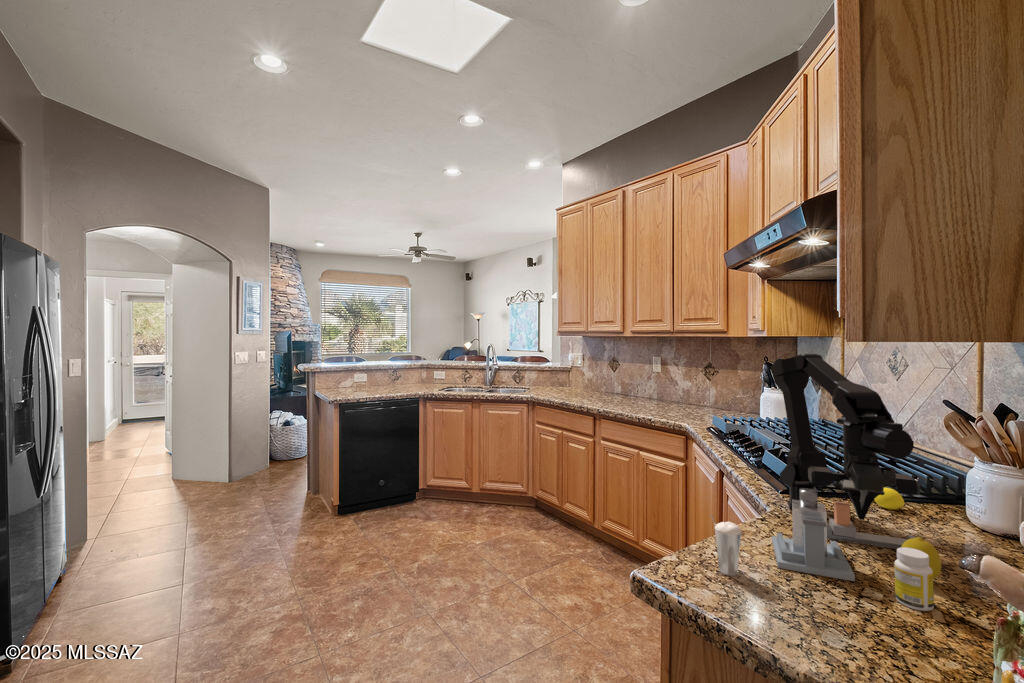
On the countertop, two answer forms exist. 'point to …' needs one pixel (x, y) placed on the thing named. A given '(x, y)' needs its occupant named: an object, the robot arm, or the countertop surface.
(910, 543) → the lemon
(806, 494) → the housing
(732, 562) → the milkshake
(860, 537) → the rail
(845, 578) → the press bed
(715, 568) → the countertop surface
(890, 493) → the lemon
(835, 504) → the lever
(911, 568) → the supplement bottle
